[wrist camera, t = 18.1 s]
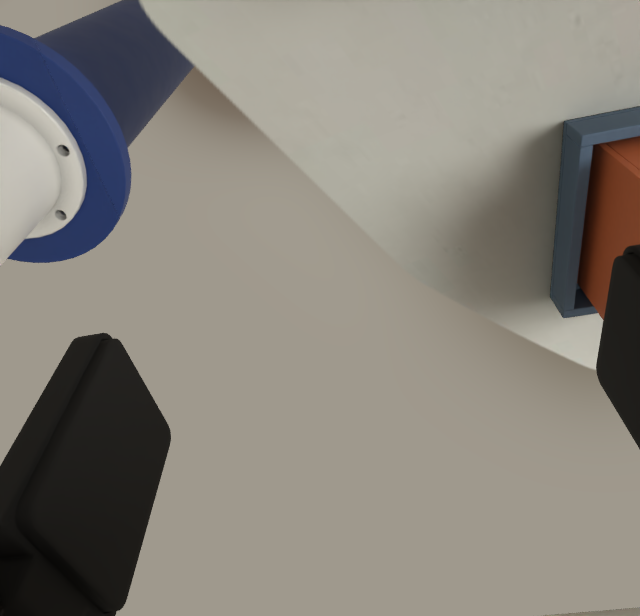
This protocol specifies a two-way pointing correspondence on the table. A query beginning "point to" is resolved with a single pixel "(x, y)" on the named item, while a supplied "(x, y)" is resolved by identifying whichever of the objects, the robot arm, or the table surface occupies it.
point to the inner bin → (609, 215)
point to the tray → (580, 200)
